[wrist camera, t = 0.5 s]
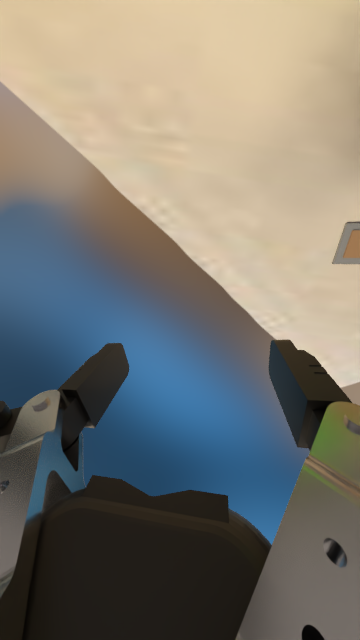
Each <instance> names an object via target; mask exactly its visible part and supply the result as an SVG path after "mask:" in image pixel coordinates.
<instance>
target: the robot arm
mask: <svg viewBox="0 0 360 640" xmlns="http://www.w3.org/2000/svg"><path fill="white" fill-rule="evenodd" d="M128 372H129V364H128V361H127V358H126V354H125V351H124V348H123V345H122V344H121V343H108V344H106V345H105V346H104V347H103V348H102V349H101V350H100V351H99V352H98V353H97V354H95V355H93V356H92V357H90V358H89V359H88V360H87V361H86V362H85V363H84V365H82V366H81V367H80V368H79V370H77V371H76V372H75V373H74V374H73V375H72V376H71V377H70V378H69V379H68V380H67V381H66V382H65V383H64V384H63V385H62V386H61V387H60V388H59V389H58V390H49V391H46V392H43V393H40V394H39V395H37V396H35V397H33V398H32V399H31V400H29V401H28V402H27V403H26V404H25V405H24V406H23V407H19V408H15V409H9V407H8V406H7V405H6V403H5V402H4V401H0V640H360V406H359V405H357V404H353V403H352V402H351V401H350V399H349V398H348V397H347V396H346V394H345V393H344V392H343V391H342V390H341V388H340V387H339V386H338V385H337V384H336V382H335V381H334V380H333V379H332V378H331V376H330V375H329V374H327V372H326V370H325V369H324V368H323V367H321V364H320V363H319V362H318V361H317V359H316V358H315V357H314V356H312V355H311V354H309V353H307V352H306V351H304V350H297V349H296V347H295V346H294V344H293V343H292V342H291V341H290V340H272V341H271V345H270V357H269V375H270V379H271V381H272V384H273V386H274V389H275V391H276V394H277V397H278V399H279V402H280V404H281V406H282V409H283V412H284V414H285V417H286V419H287V422H288V424H289V427H290V429H291V432H292V435H293V437H294V440H295V442H296V444H297V447H301V448H309V450H310V454H309V456H308V457H307V458H306V460H305V462H304V464H303V467H302V469H301V472H300V475H299V477H298V480H297V482H296V485H295V487H294V490H293V493H292V495H291V498H290V500H289V503H288V505H287V508H286V511H285V513H284V516H283V518H282V521H281V524H280V526H279V529H278V531H277V534H276V536H275V539H274V541H273V544H272V545H271V544H270V543H269V541H268V540H267V539H266V538H265V537H264V536H263V535H262V534H261V532H260V531H259V530H258V529H256V528H255V526H253V525H252V524H251V523H250V522H249V521H248V520H246V519H245V518H244V517H242V516H241V515H239V514H238V513H236V512H234V511H232V510H230V509H229V508H228V496H226V495H220V494H213V493H207V492H200V491H194V490H187V491H182V492H176V493H171V494H166V495H160V496H154V497H153V496H149V495H147V494H145V493H144V492H142V491H140V490H139V489H137V488H135V487H133V486H132V485H130V484H128V483H127V482H125V481H123V480H122V479H115V478H108V477H101V476H95V475H92V477H91V479H90V481H89V483H88V485H87V487H85V484H84V479H83V435H82V433H81V431H82V430H83V428H84V427H89V428H95V427H96V425H97V424H98V422H99V420H100V419H101V417H102V415H103V414H104V412H105V411H106V409H107V408H108V406H109V404H110V403H111V401H112V399H113V398H114V396H115V394H116V393H117V391H118V390H119V388H120V386H121V385H122V383H123V382H124V380H125V378H126V377H127V375H128Z"/></svg>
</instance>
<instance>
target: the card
mask: <svg viewBox="0 0 360 640" xmlns="http://www.w3.org/2000/svg"><path fill="white" fill-rule="evenodd" d="M332 264H360V223H346V224H345V227H344V230H343V233H342V236H341V239H340V242H339V245H338V248H337V251H336V254H335V257H334V260H333V263H332Z"/></svg>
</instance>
